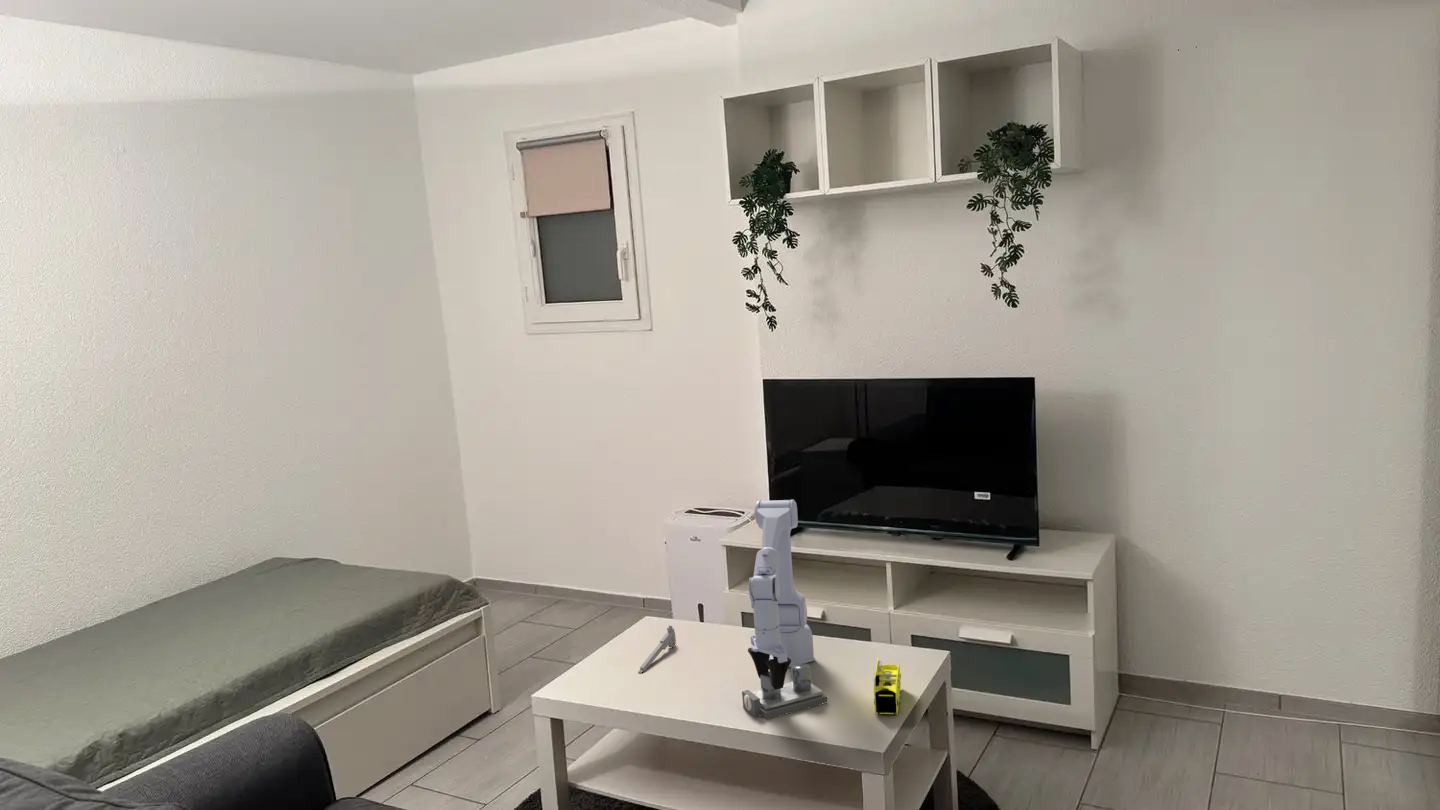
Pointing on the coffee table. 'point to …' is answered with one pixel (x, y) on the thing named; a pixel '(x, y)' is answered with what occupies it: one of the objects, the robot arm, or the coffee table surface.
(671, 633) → the caliper
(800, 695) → the pan
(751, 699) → the scale base
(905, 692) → the coffee table surface
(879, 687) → the yellow toy chassis
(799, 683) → the block
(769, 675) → the cylinder
